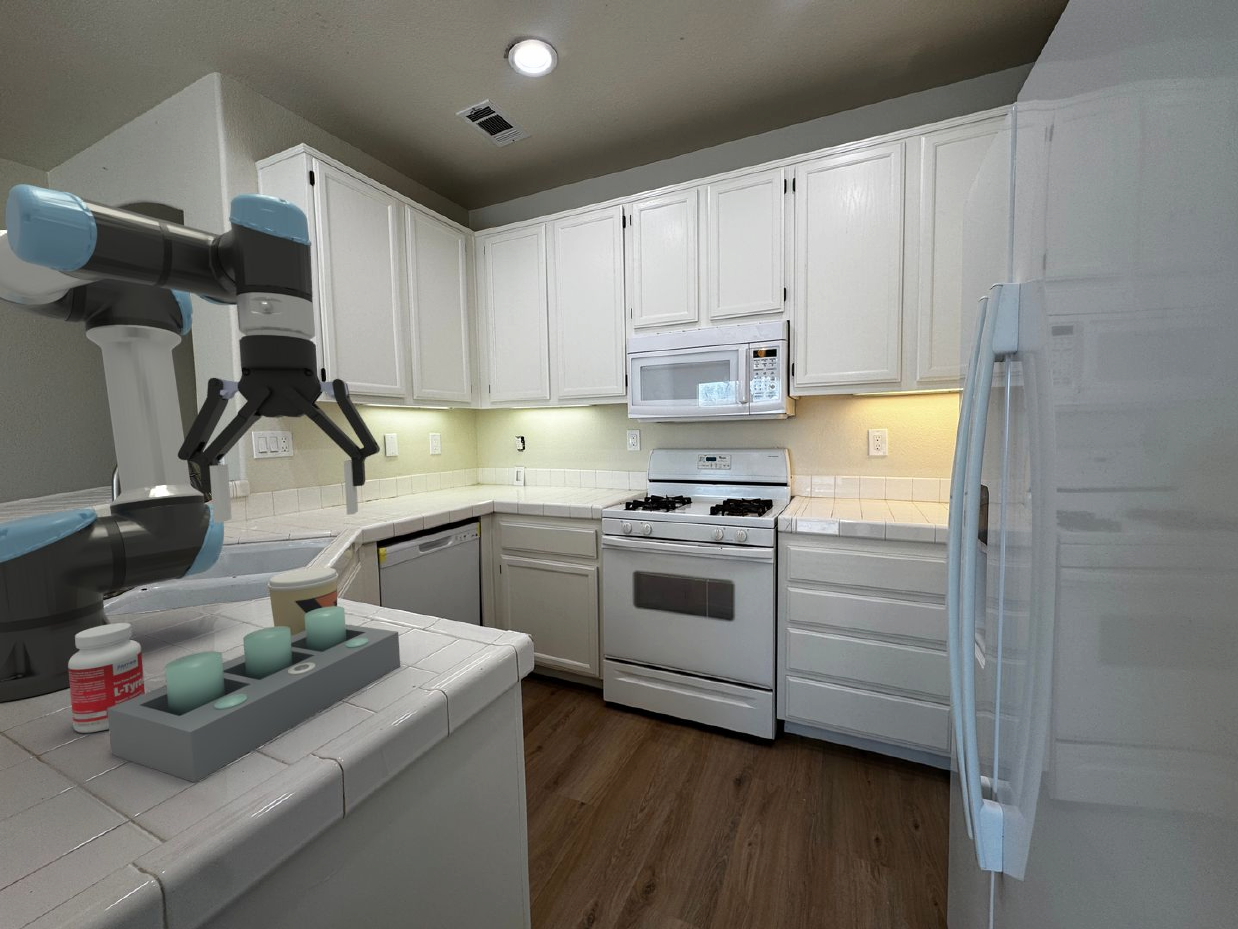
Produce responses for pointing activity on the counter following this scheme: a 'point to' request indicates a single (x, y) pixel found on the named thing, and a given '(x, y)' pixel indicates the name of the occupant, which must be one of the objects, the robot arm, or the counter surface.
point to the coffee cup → (301, 595)
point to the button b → (267, 651)
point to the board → (248, 705)
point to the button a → (194, 681)
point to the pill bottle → (103, 674)
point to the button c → (325, 628)
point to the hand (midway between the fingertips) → (289, 517)
